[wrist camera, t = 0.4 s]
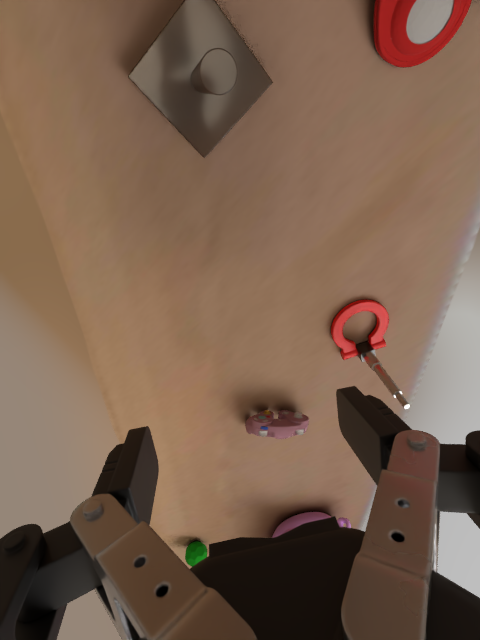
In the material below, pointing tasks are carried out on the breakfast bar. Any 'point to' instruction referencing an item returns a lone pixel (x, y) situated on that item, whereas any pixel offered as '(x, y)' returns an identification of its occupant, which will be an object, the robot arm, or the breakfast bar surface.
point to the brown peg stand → (200, 74)
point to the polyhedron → (195, 553)
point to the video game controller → (277, 424)
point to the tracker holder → (415, 28)
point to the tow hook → (367, 348)
